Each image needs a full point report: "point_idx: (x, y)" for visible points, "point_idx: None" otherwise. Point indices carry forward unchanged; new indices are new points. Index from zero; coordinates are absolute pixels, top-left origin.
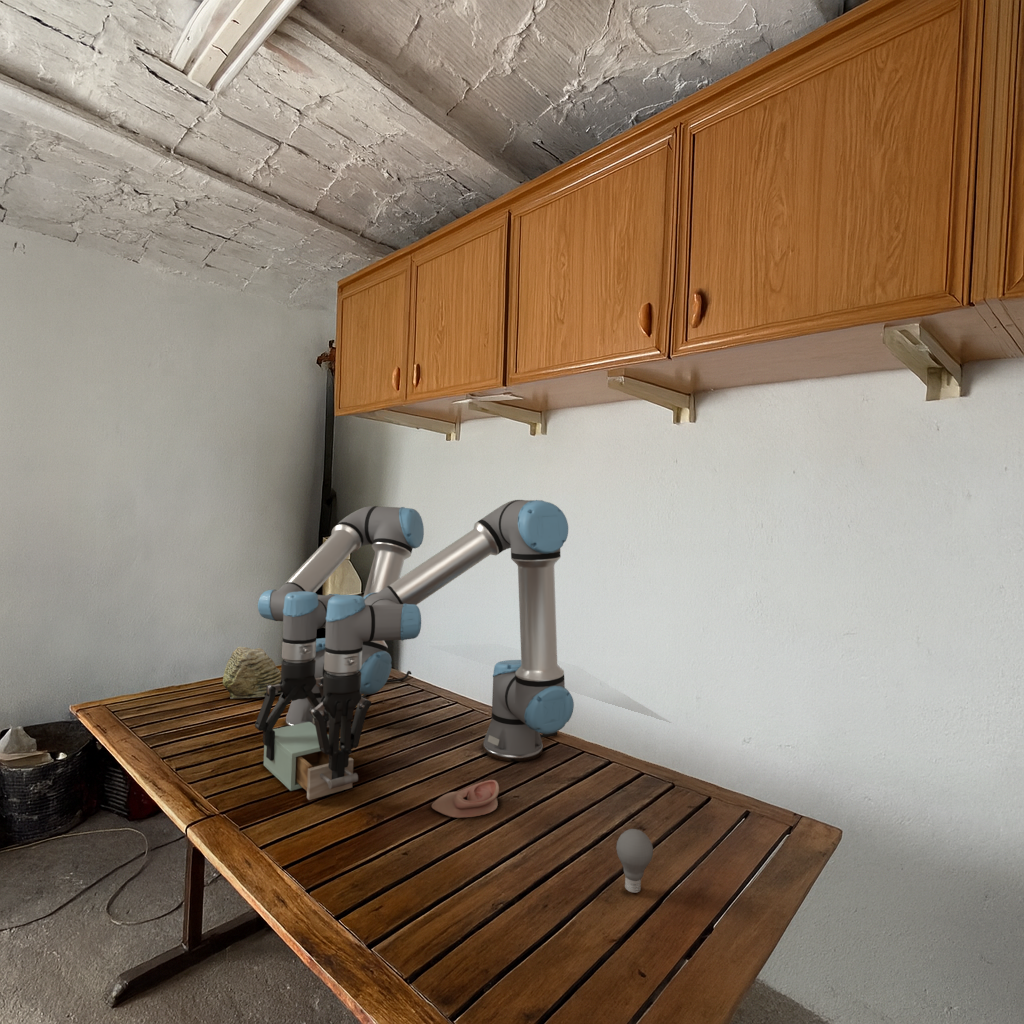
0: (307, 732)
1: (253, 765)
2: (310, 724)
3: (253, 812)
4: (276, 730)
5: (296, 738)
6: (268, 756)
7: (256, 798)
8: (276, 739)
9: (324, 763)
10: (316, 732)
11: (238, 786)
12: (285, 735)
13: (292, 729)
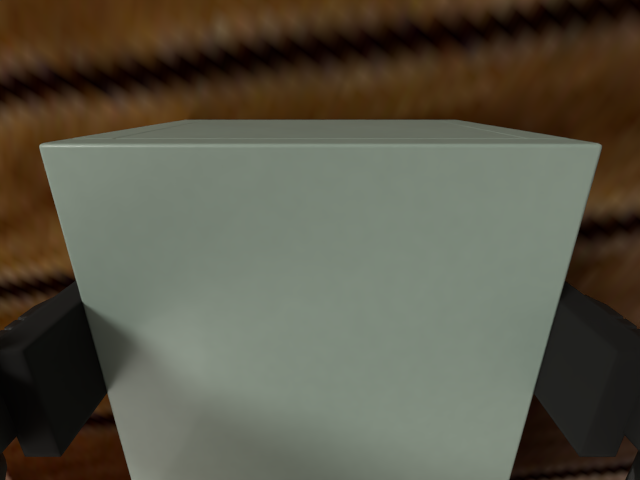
0: (402, 399)
1: (134, 82)
2: (546, 239)
3: (77, 473)
4: (164, 209)
5: (270, 458)
6: None
7: (98, 405)
8: (118, 405)
9: None
10: (461, 434)
11: (38, 283)
12: (211, 367)
13: (322, 270)
